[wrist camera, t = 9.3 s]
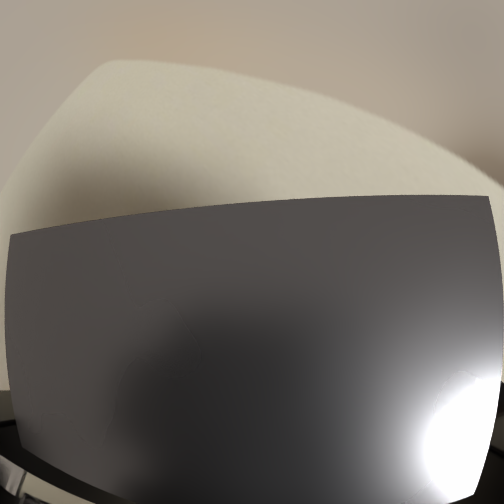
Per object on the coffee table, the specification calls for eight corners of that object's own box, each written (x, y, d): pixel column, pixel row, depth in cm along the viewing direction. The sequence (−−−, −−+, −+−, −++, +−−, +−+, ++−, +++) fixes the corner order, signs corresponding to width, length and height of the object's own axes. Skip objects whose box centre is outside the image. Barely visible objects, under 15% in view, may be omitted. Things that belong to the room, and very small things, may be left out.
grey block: (336, 403, 15) (396, 620, 1) (241, 403, 16) (83, 578, 2) (336, 293, 16) (488, 195, 2) (240, 296, 17) (10, 234, 3)
